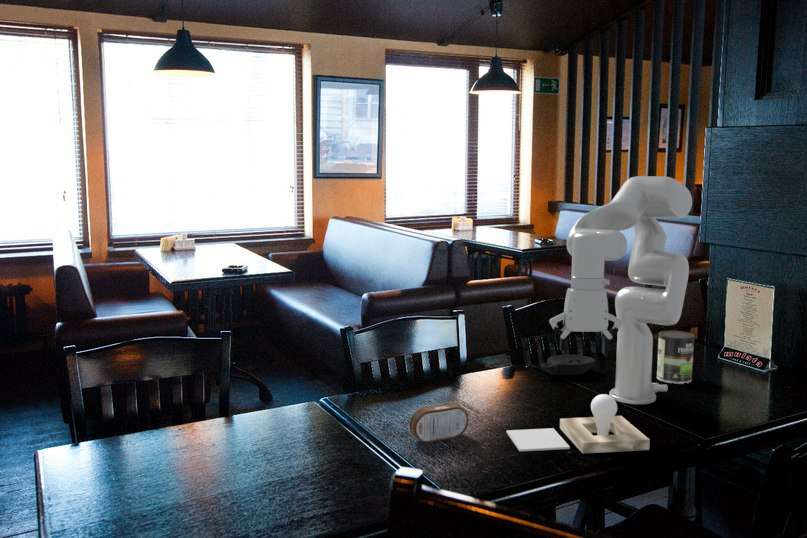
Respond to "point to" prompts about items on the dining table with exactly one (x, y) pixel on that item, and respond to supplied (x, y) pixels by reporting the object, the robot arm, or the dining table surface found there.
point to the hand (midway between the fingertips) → (584, 353)
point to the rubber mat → (537, 439)
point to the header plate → (621, 441)
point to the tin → (439, 422)
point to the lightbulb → (603, 412)
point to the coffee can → (675, 357)
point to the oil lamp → (567, 364)
